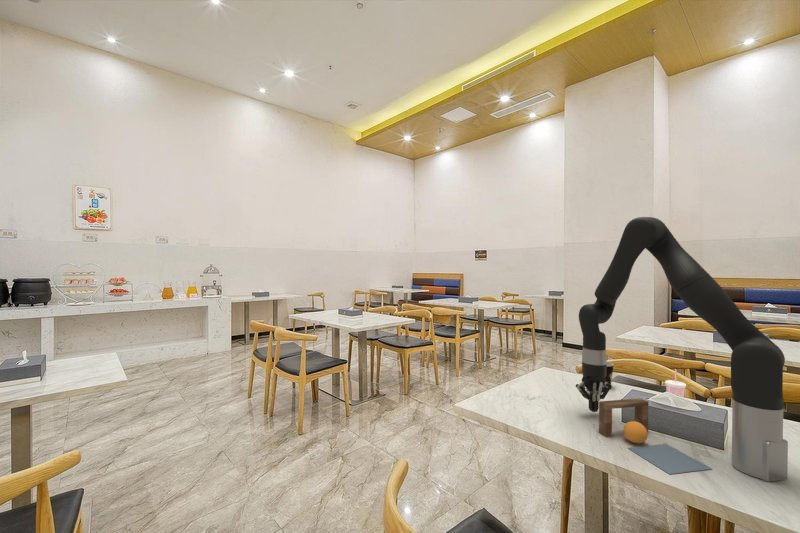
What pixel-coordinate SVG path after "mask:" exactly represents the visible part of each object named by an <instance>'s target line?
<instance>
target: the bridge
mask: <svg viewBox="0 0 800 533" xmlns="http://www.w3.org/2000/svg"><path fill="white" fill-rule="evenodd" d="M625 408H634V421H636V422H639V423H641V424H642V425H643V426H644V427H645V428H646V430H647V433H648V434H649V401H648V400H645V399H644V398H643V399H642V398H640V397H639V398H630V399H629V398H628V399H627V398H626V399H625V398H624V399H615V400H602V401H601V400H600V401H599V409H598V433H599V434H600V435H602V436H604V437H605V438H608V437H609V438H611V437H612V436H613V435H612V434H613V409H625Z"/></svg>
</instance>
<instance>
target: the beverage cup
mask: <svg viewBox="0 0 800 533" xmlns="http://www.w3.org/2000/svg"><path fill="white" fill-rule="evenodd" d="M664 381H665V387H666V393H667V392H670V393H673V394H675V395H678V396H680V397H683V398H684V399H685V395H686V394H685V393H686V387H687V384H686V383H684V382H682V381H678V380H677V369H676V368H674V379H672V380H670V379H668V380H664Z"/></svg>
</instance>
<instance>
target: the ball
mask: <svg viewBox="0 0 800 533" xmlns="http://www.w3.org/2000/svg"><path fill="white" fill-rule="evenodd" d="M622 430H623V435H624V436H625V437H626V439H627V440H628V441H629V442H631V443H634V444H643V443H645V442H646V441H647V439H648V435H649V432H648V433H647V430H646V428H645V427H644V426H643V425H642V424H641V423H639V422H636V421H635V420H631V421H628V422H626V423H625V424H624V426H623V429H622Z"/></svg>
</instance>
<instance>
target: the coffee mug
mask: <svg viewBox="0 0 800 533" xmlns="http://www.w3.org/2000/svg"><path fill="white" fill-rule="evenodd" d="M614 366H615V365H614V364H613V363H611V362H608V361H607V367H606V377H605V378H606V382H607V383H609V384H611V385H612V379H613V372H614Z"/></svg>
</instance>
